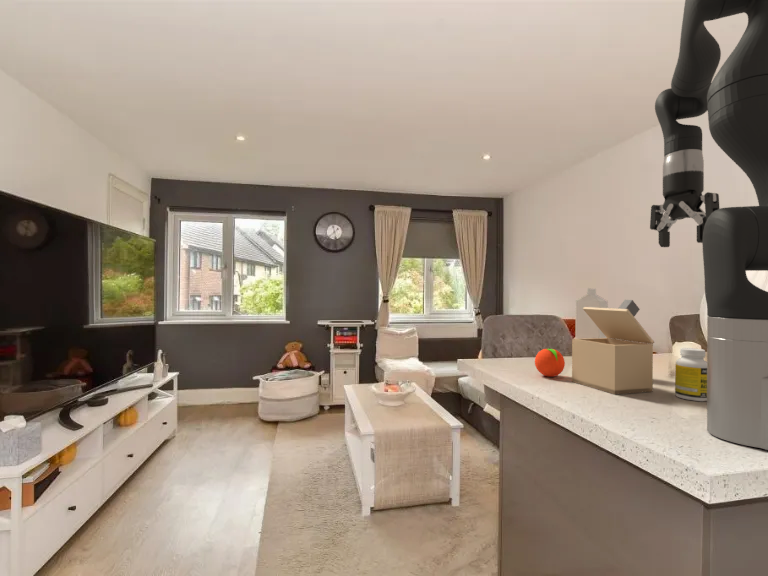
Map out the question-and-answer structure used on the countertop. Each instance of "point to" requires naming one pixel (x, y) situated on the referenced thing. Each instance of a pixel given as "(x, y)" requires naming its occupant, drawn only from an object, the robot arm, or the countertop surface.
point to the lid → (619, 322)
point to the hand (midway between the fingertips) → (682, 244)
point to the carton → (613, 365)
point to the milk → (583, 321)
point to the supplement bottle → (691, 375)
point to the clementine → (549, 362)
